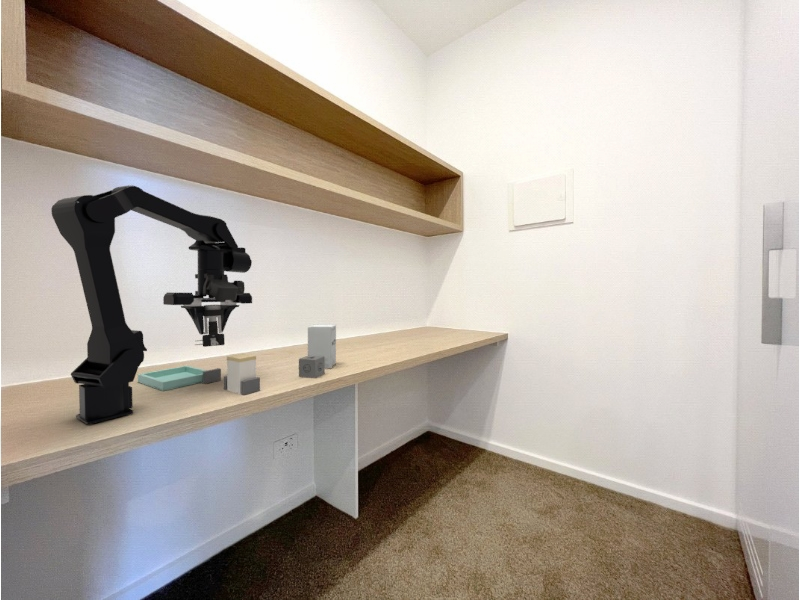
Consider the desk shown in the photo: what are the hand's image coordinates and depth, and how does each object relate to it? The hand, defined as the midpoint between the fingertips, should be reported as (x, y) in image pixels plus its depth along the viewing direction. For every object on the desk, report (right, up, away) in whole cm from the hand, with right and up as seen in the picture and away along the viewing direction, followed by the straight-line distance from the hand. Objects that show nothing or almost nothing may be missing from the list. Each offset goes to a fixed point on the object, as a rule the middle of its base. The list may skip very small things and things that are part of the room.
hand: (211, 333), depth 81 cm
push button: (0, -3, 0) cm, 3 cm away
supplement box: (+23, -12, +20) cm, 33 cm away
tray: (-11, -13, +3) cm, 17 cm away
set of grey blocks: (+6, -13, -2) cm, 14 cm away
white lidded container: (+10, -13, -4) cm, 17 cm away
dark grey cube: (+22, -13, +9) cm, 27 cm away
